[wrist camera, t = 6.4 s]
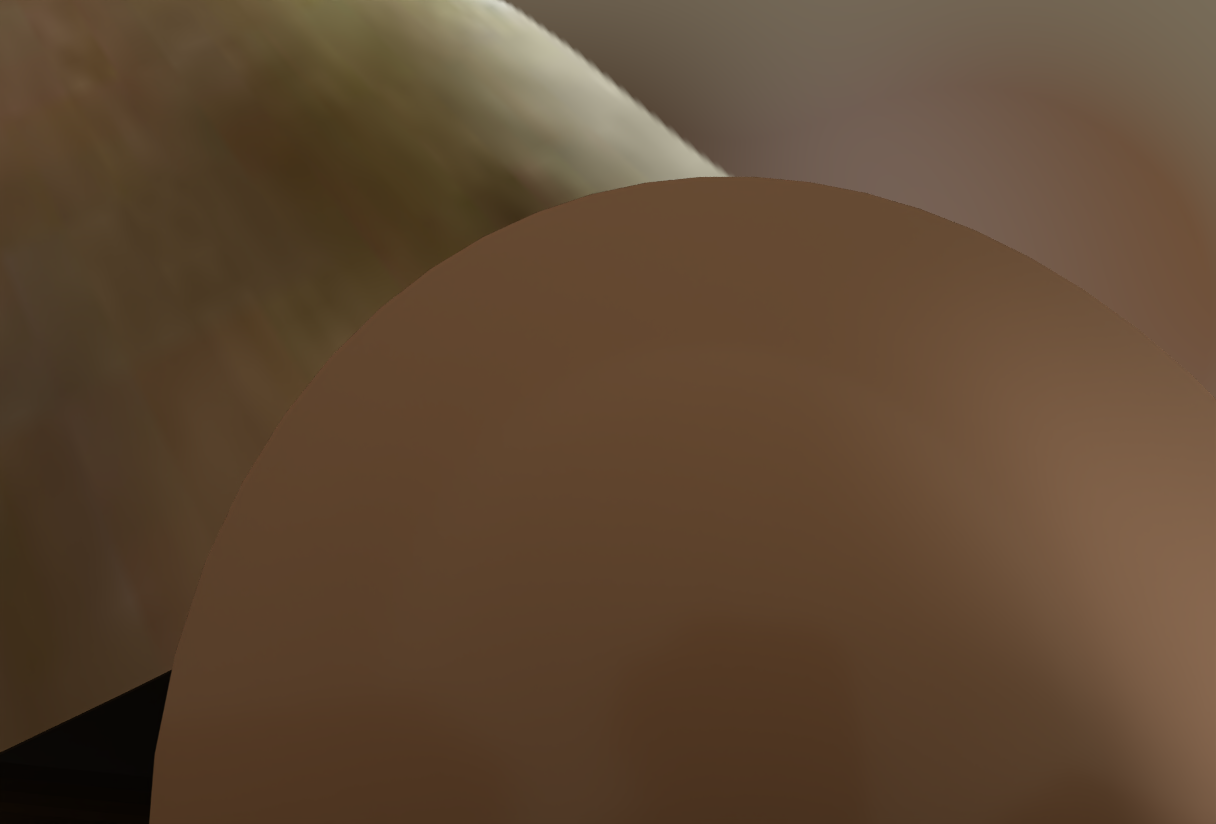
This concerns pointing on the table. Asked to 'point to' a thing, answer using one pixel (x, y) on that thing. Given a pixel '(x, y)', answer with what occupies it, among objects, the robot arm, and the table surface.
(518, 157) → the table surface
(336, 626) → the terracotta jar
